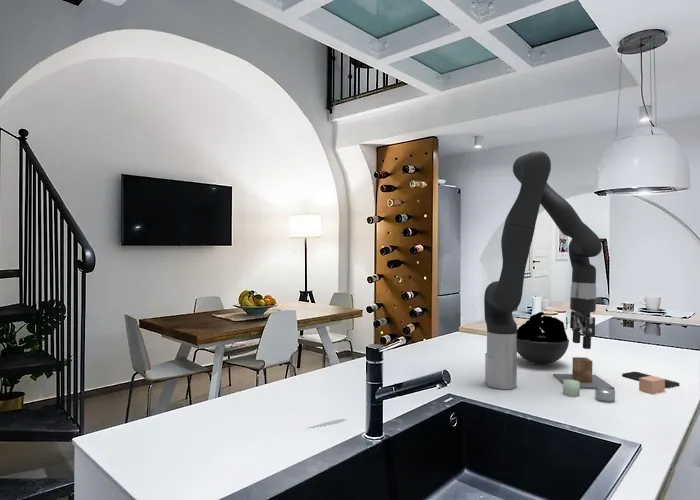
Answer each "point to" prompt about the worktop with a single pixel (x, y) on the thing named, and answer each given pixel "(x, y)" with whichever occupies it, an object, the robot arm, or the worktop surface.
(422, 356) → the worktop surface
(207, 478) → the worktop surface
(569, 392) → the sage cylinder
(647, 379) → the terracotta brick
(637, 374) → the phone
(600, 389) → the grey metal puck
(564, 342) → the coal bowl
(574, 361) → the walnut block
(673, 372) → the worktop surface
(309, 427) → the butter knife
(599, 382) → the charcoal mat
